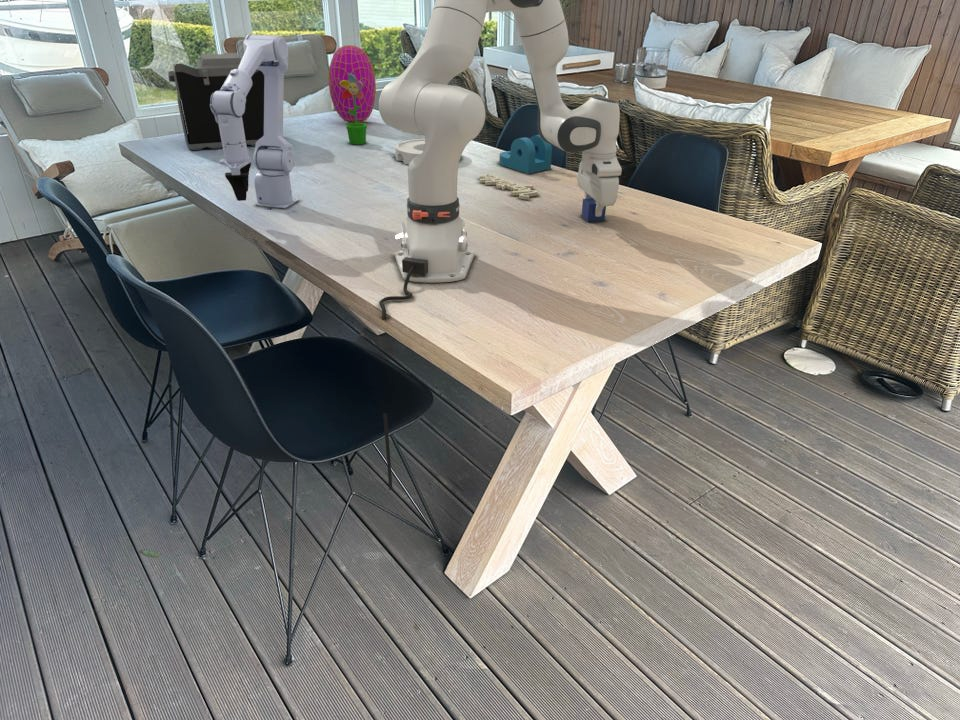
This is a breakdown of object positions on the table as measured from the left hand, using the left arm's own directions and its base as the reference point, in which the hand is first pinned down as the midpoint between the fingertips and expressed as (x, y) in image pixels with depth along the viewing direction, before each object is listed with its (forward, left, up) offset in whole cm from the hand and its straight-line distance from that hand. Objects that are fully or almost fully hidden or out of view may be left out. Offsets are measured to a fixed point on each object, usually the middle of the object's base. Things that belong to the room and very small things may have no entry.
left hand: (242, 195), depth 178 cm
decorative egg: (-29, +127, -8) cm, 130 cm away
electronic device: (-57, +80, -8) cm, 99 cm away
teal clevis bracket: (+55, +81, -8) cm, 99 cm away
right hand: (+87, +34, -6) cm, 93 cm away
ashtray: (+21, +81, -8) cm, 84 cm away
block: (+87, +34, -8) cm, 93 cm away
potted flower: (-12, +94, -8) cm, 95 cm away
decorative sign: (+57, +55, -8) cm, 80 cm away
